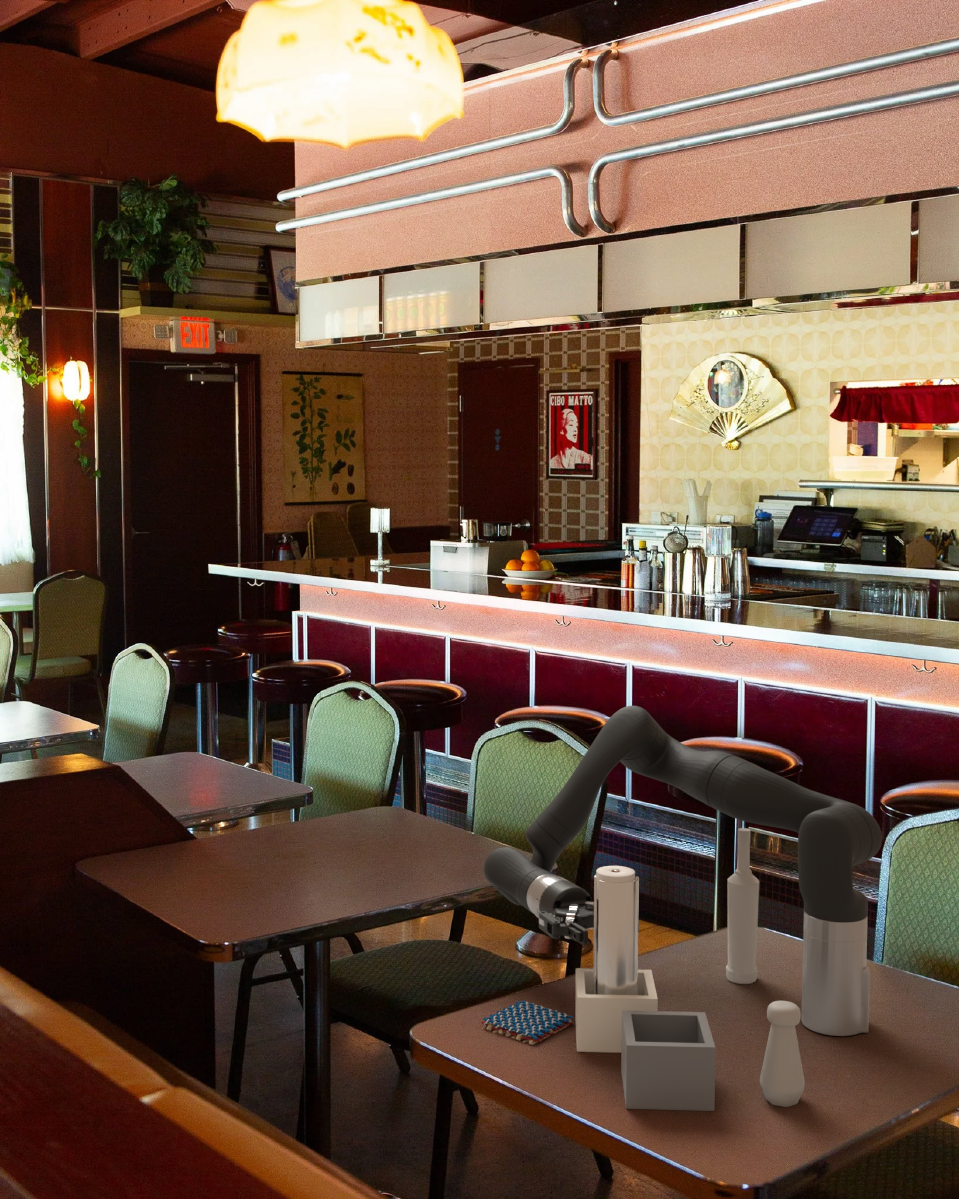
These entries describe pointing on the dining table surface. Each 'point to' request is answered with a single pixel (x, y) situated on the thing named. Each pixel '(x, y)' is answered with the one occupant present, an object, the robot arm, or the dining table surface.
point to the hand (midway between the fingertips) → (611, 934)
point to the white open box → (607, 1011)
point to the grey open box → (667, 1061)
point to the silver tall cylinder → (615, 931)
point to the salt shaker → (782, 1056)
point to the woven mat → (527, 1022)
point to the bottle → (742, 916)
